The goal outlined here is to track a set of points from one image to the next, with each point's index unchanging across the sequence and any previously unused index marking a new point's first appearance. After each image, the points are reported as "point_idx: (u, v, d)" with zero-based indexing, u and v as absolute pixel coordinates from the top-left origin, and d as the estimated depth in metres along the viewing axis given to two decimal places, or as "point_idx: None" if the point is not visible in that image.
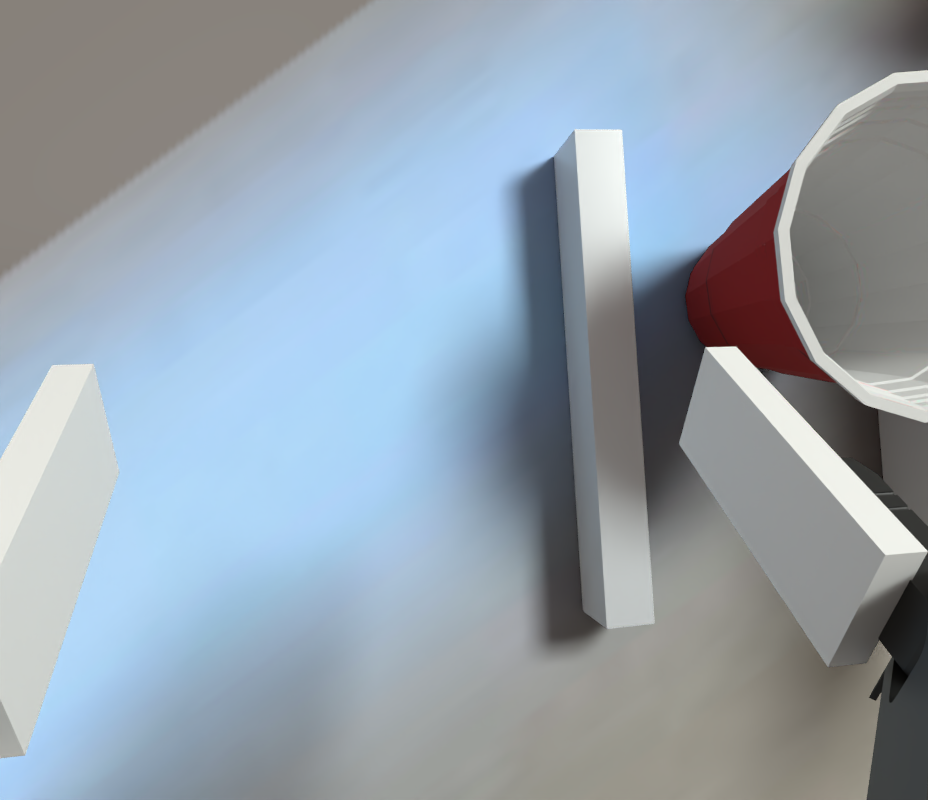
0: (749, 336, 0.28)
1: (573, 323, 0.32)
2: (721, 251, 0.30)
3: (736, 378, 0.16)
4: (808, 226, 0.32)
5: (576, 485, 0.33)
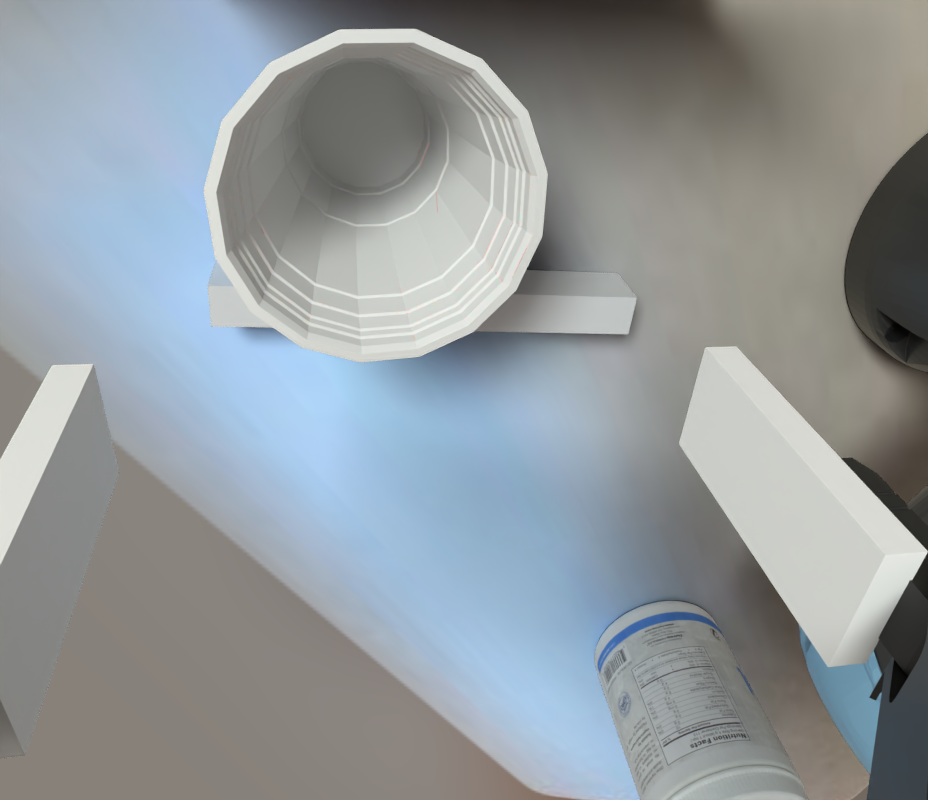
0: None
1: None
2: None
3: (736, 378, 0.16)
4: (298, 96, 0.30)
5: None
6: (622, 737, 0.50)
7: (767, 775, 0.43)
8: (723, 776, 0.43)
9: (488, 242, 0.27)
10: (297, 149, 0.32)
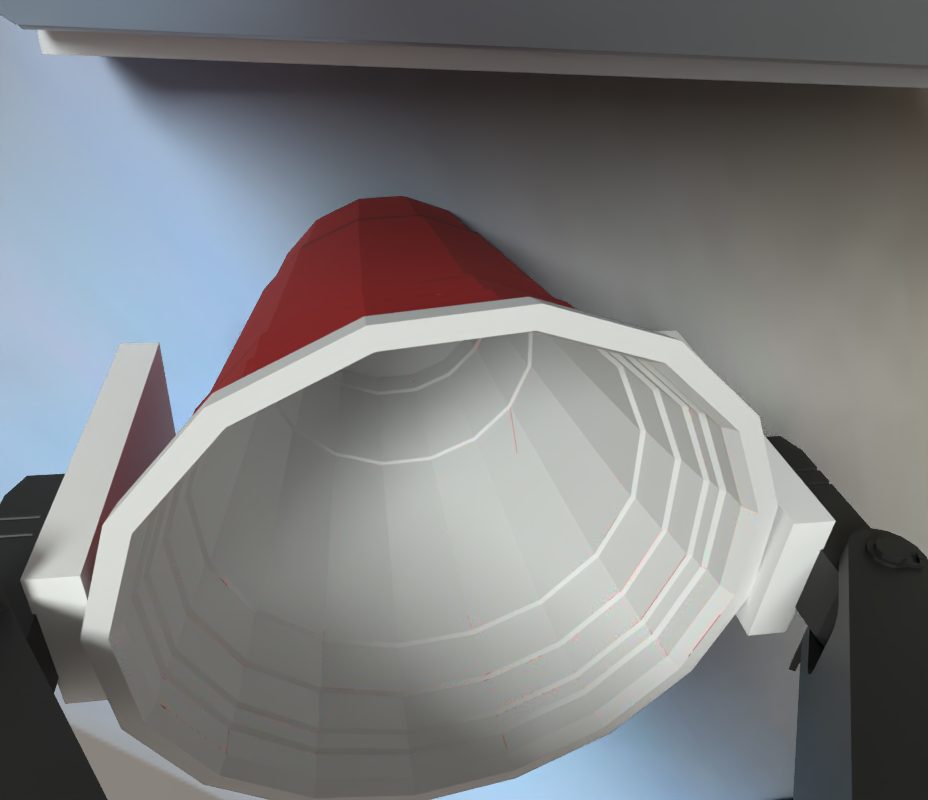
0: None
1: None
2: None
3: None
4: None
5: None
6: None
7: None
8: None
9: (630, 565, 0.15)
10: None
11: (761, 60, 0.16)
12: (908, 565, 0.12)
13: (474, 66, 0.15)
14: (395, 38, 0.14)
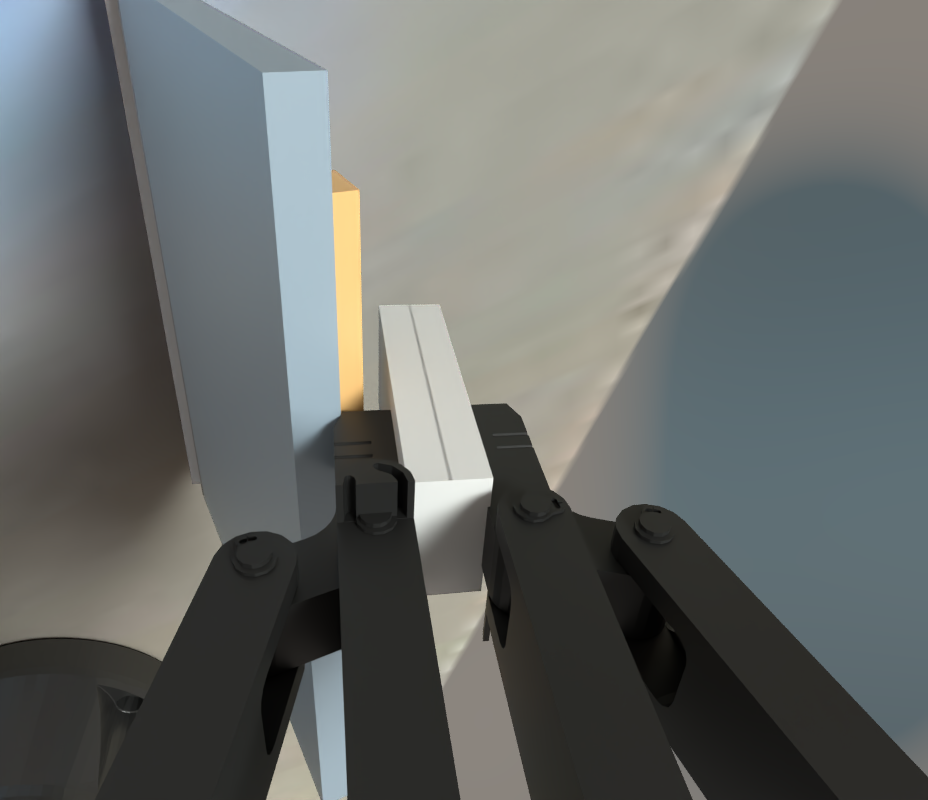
0: None
1: None
2: None
3: (418, 331, 0.17)
4: None
5: None
6: None
7: None
8: None
9: None
10: None
11: (183, 380, 0.30)
12: (552, 513, 0.12)
13: (148, 231, 0.27)
14: (153, 194, 0.25)
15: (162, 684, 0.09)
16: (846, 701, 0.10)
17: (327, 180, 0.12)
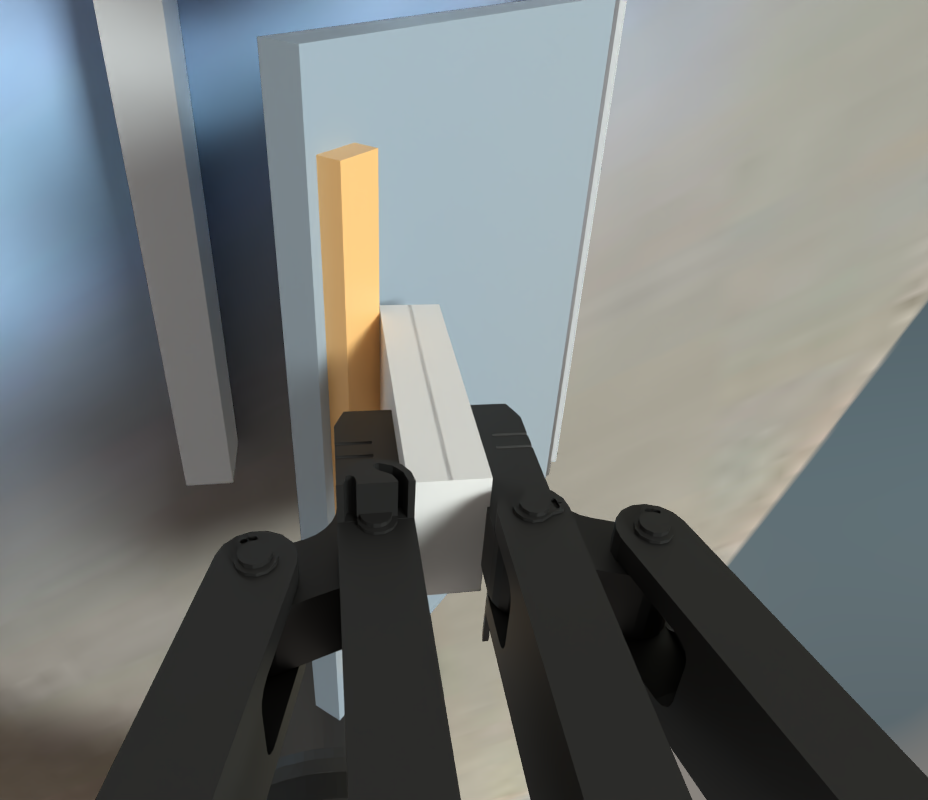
0: None
1: None
2: None
3: (417, 330, 0.17)
4: None
5: None
6: None
7: None
8: None
9: None
10: None
11: None
12: (552, 513, 0.12)
13: None
14: None
15: (163, 684, 0.09)
16: (845, 702, 0.10)
17: (302, 140, 0.14)
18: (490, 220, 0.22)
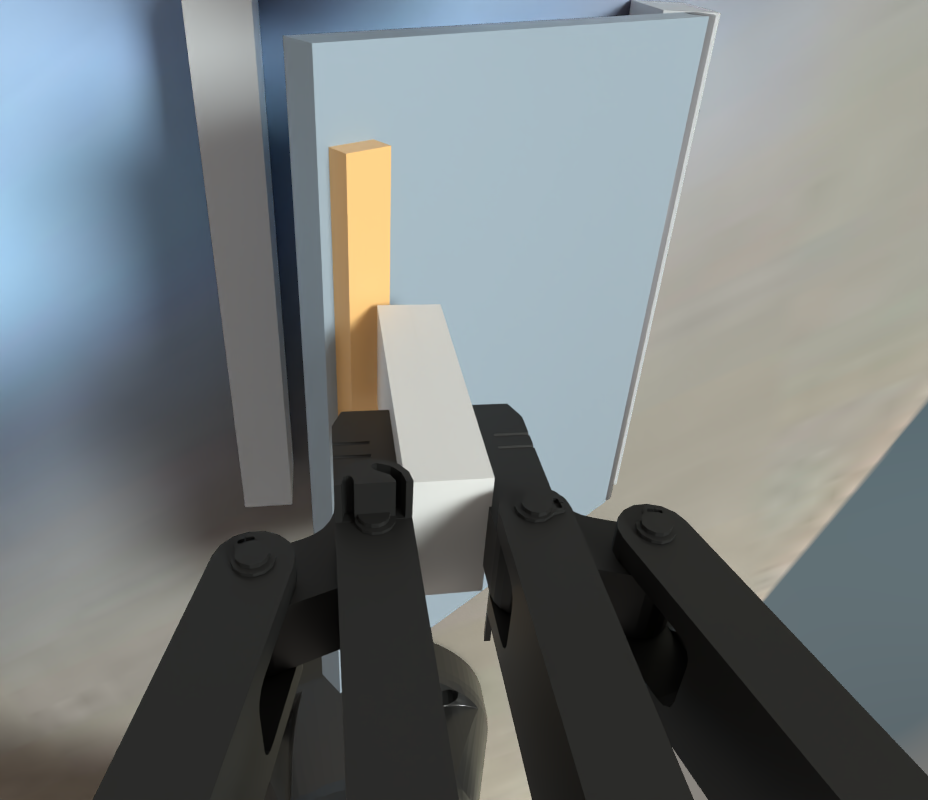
0: None
1: None
2: None
3: (419, 330, 0.17)
4: None
5: None
6: None
7: None
8: None
9: None
10: None
11: None
12: (553, 513, 0.12)
13: None
14: None
15: (160, 685, 0.09)
16: (846, 702, 0.10)
17: (315, 132, 0.15)
18: (537, 230, 0.22)
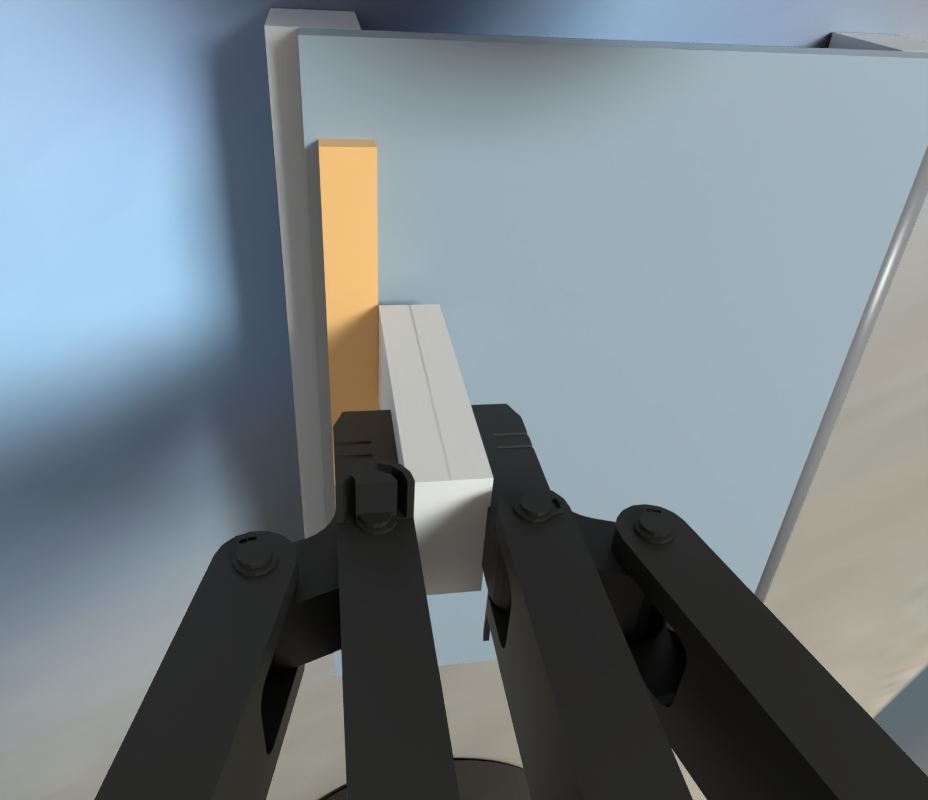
0: None
1: None
2: None
3: (418, 330, 0.17)
4: None
5: None
6: None
7: None
8: None
9: None
10: None
11: None
12: (552, 513, 0.12)
13: None
14: None
15: (162, 684, 0.09)
16: (845, 702, 0.10)
17: (304, 122, 0.16)
18: (618, 280, 0.19)
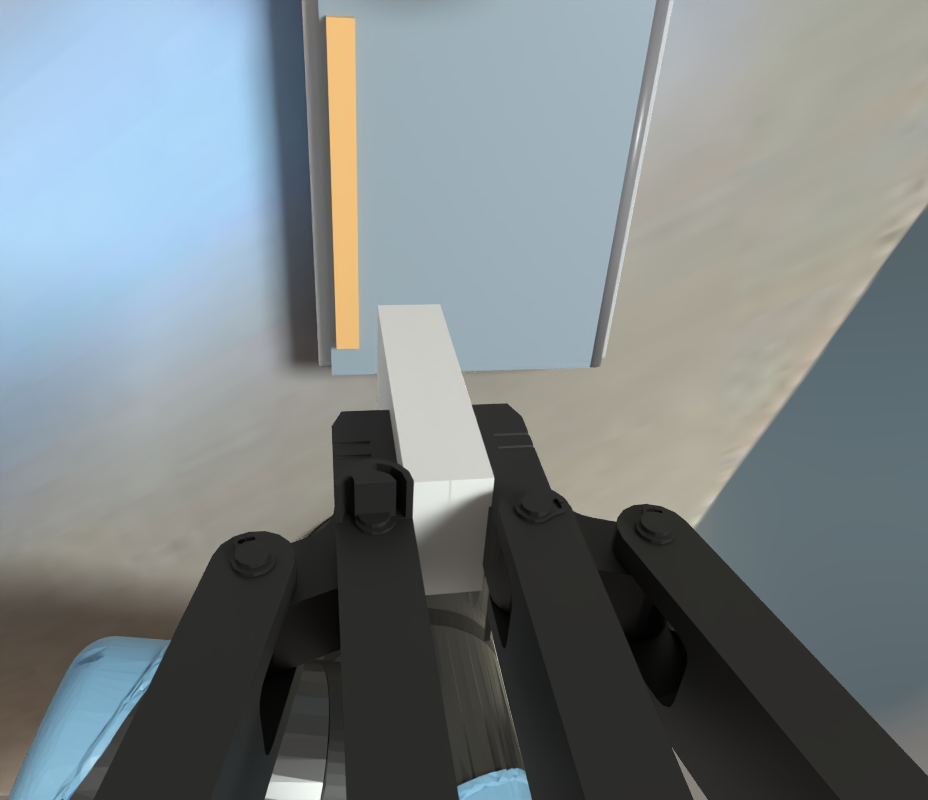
0: None
1: None
2: None
3: (419, 330, 0.17)
4: None
5: None
6: None
7: None
8: None
9: None
10: None
11: None
12: (553, 513, 0.12)
13: None
14: None
15: (160, 684, 0.09)
16: (846, 702, 0.10)
17: (318, 6, 0.32)
18: (487, 104, 0.35)
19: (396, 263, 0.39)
